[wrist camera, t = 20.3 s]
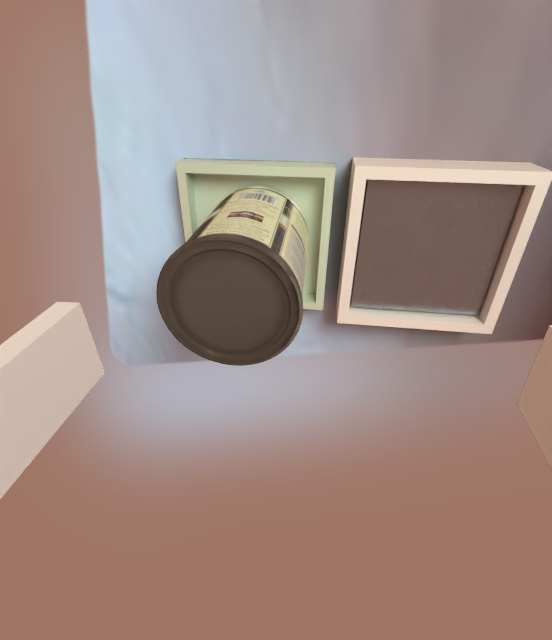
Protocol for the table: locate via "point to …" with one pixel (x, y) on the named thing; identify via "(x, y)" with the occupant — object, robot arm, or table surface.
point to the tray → (288, 177)
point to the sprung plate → (430, 244)
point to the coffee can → (239, 279)
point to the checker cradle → (442, 171)
